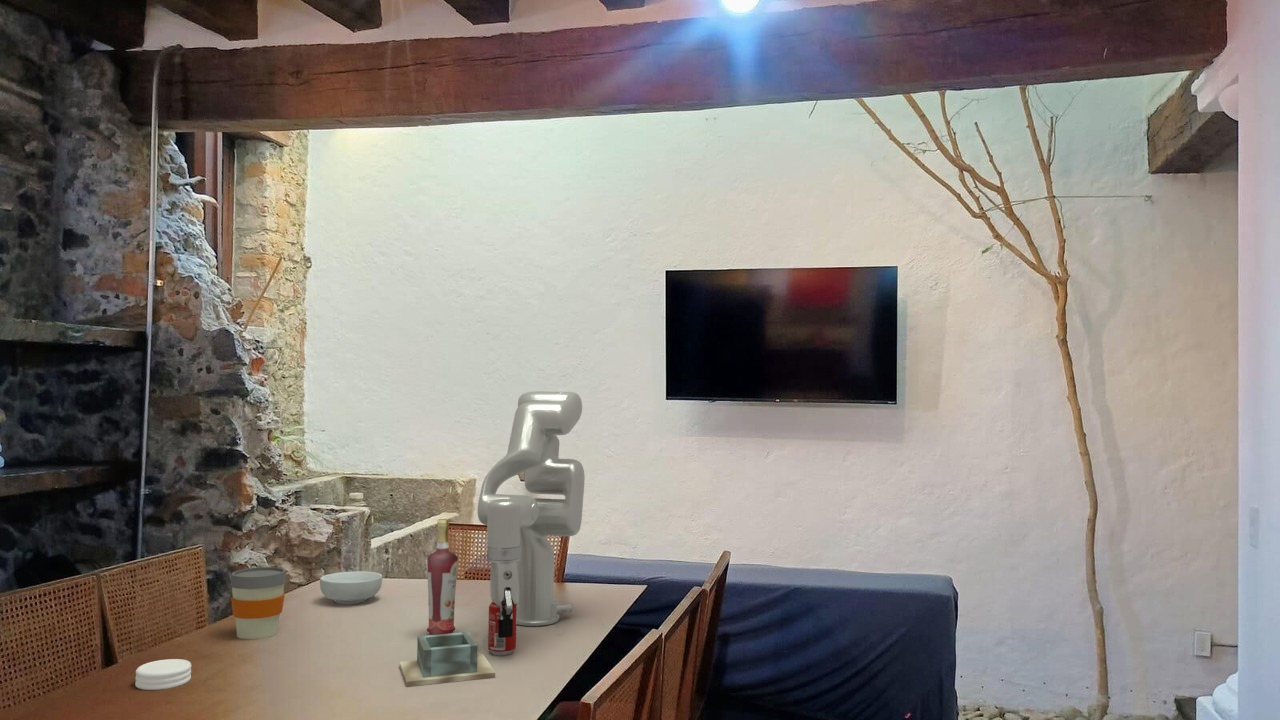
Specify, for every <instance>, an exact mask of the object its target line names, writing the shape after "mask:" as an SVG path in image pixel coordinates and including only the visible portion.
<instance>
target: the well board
mask: <svg viewBox="0 0 1280 720" xmlns="http://www.w3.org/2000/svg"><path fill="white" fill-rule="evenodd" d="M416 643H417V644H416V645H417V647H416V648H417V650H416V659H412V660H404V661H399V669H400V671H401V674H402V678H403V680H404V684H405V687H407V688H409V687H416V686H427V685H428V686H429V685H437V684H446V683H447V684H448V683H455V682H463V681H472V680H473V681H474V680H482V679H483V680H485V679H491V678H496V671H495V670H494V669H493V667H492V665H491V664H490V662H489V661H488V659H487V658H486V656H485V655H484V653H478V651H479V650H478V649H479V648H478V644H477V642H476V640H475V639H474V638H473V637H472V635H471V633H470V632H469V631H465V632H455V633H454V632H453V633H450V634H439V635H431V634H429V635H428V634H427V635H420V636H417V642H416Z"/></svg>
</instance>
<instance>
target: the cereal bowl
mask: <svg viewBox="0 0 1280 720" xmlns="http://www.w3.org/2000/svg"><path fill="white" fill-rule="evenodd" d="M382 584H383V575H382V574H381V573H379V572H375V571H374V572H373V571H363V570H362V571H360V570H359V571H358V570H357V571H344V572H334V573H329V574H326V575H322V576H320V579H319V588H320V591H321V593H322V595H324V596H325V597H326V598H327V599H329V600H333V602H334V601H335V603H336V604H339V605H358V604H361V603H364V602H366V600H367V599H370V598H373V597H374V596H375V595H377V593H379V591H380V590H381V588H382Z"/></svg>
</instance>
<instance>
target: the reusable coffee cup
mask: <svg viewBox="0 0 1280 720" xmlns="http://www.w3.org/2000/svg"><path fill="white" fill-rule="evenodd" d="M286 574H287V573H286V569H285V568H282V567H276V566H275V567H274V566H273V567H271V566H264V567H262V566H261V567H250V568H244V569H239V570H238V569H237V570H236V571H233V572H232V573H231V578H230V587H231V590H232V591H231V592H232V596H231V597H230V599H231V600H230V601H231V609H232V610H231V611H232V616H233V617H234V618H235V619H234V620H235V628H236V637H237V638H238V639H242V640H258V639H266V638H269V637H272V636H276V635H277V634H278V627H279V622H280V616H281V615H280V614H282V613H283V607H284V601H285V594H286V593H285V591H284V590H285V584H286V583H287V576H286Z"/></svg>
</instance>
